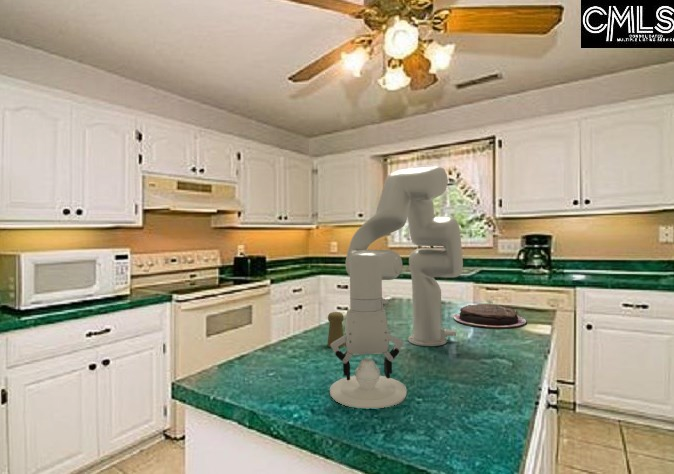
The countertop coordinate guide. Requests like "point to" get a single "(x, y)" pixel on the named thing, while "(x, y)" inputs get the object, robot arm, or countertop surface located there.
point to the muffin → (367, 374)
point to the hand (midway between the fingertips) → (367, 377)
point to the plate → (368, 393)
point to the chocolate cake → (489, 317)
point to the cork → (335, 328)
